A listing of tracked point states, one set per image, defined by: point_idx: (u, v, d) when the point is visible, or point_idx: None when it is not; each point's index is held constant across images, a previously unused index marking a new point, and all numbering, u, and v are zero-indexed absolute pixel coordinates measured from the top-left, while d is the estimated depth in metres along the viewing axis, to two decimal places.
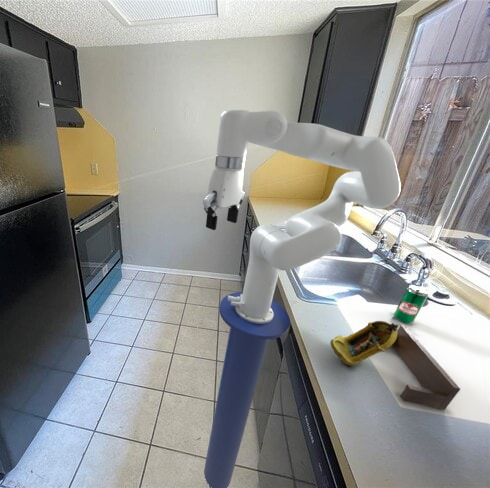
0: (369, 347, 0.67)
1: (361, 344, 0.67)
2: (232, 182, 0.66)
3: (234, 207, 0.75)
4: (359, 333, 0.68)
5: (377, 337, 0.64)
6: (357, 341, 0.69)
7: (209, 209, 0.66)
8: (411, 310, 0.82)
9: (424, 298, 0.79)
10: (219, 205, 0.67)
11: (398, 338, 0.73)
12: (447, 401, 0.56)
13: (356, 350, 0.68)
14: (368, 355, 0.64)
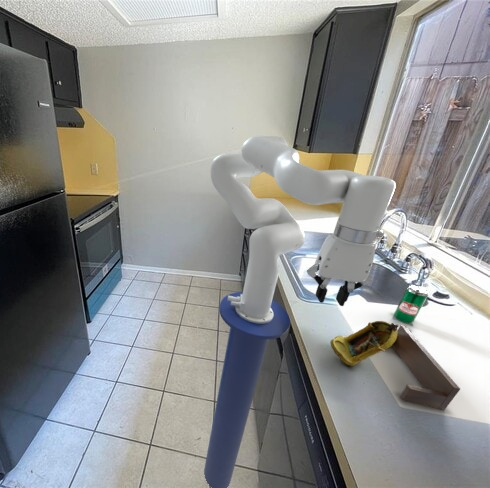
0: (369, 347, 0.67)
1: (361, 344, 0.67)
2: (345, 254, 0.57)
3: (345, 288, 0.62)
4: (359, 333, 0.68)
5: (377, 337, 0.64)
6: (357, 341, 0.69)
7: (316, 278, 0.62)
8: (410, 310, 0.82)
9: (424, 298, 0.79)
10: (320, 273, 0.60)
11: (398, 338, 0.73)
12: (447, 401, 0.56)
13: (356, 350, 0.68)
14: (368, 355, 0.64)
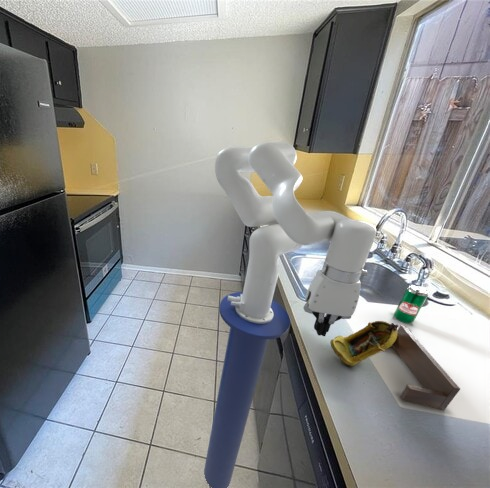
0: (369, 347, 0.67)
1: (361, 344, 0.67)
2: (332, 291, 0.61)
3: (326, 319, 0.66)
4: (359, 333, 0.68)
5: (377, 337, 0.64)
6: (357, 341, 0.69)
7: (314, 313, 0.66)
8: (410, 310, 0.82)
9: (424, 298, 0.79)
10: (310, 307, 0.64)
11: (398, 338, 0.73)
12: (447, 401, 0.56)
13: (356, 350, 0.68)
14: (368, 355, 0.64)
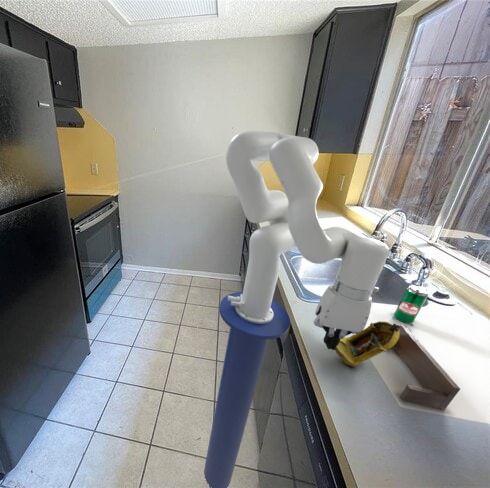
0: (371, 348, 0.67)
1: (363, 344, 0.67)
2: (343, 308, 0.61)
3: (336, 333, 0.67)
4: (361, 333, 0.68)
5: (379, 338, 0.64)
6: (359, 342, 0.69)
7: (324, 327, 0.67)
8: (410, 310, 0.82)
9: (424, 298, 0.79)
10: (320, 322, 0.65)
11: None
12: (447, 401, 0.56)
13: (358, 350, 0.68)
14: (370, 355, 0.64)
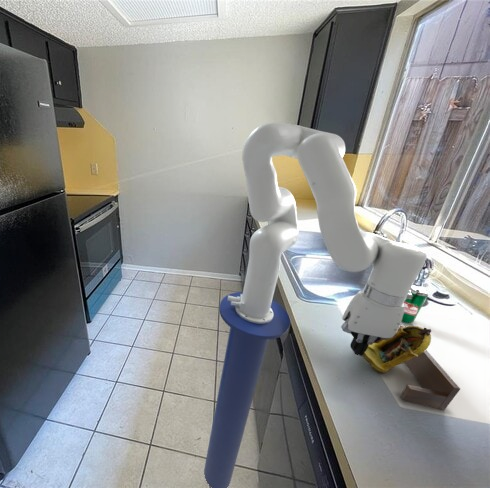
0: (401, 353, 0.65)
1: (392, 350, 0.65)
2: (375, 314, 0.60)
3: (364, 339, 0.66)
4: (390, 339, 0.67)
5: (409, 342, 0.62)
6: (388, 347, 0.68)
7: (352, 333, 0.65)
8: (410, 310, 0.82)
9: (424, 298, 0.79)
10: (349, 328, 0.64)
11: None
12: (447, 401, 0.56)
13: (387, 356, 0.66)
14: (400, 361, 0.62)
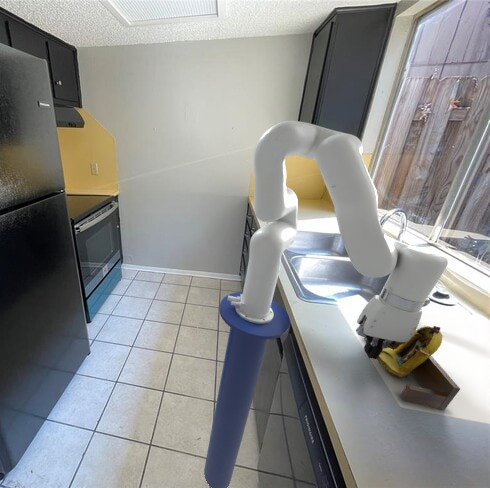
0: None
1: (408, 353, 0.64)
2: (392, 318, 0.60)
3: (379, 343, 0.66)
4: (406, 343, 0.66)
5: (423, 343, 0.62)
6: (407, 352, 0.66)
7: (367, 337, 0.65)
8: None
9: None
10: (365, 332, 0.64)
11: None
12: (447, 401, 0.56)
13: (404, 360, 0.65)
14: (414, 362, 0.61)
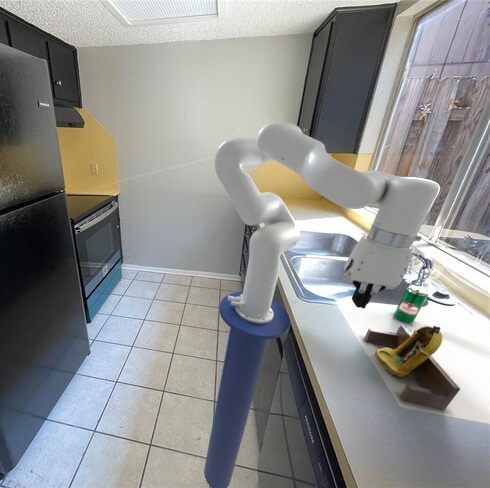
0: None
1: (408, 353, 0.64)
2: (380, 258, 0.55)
3: (367, 290, 0.61)
4: (406, 343, 0.66)
5: (423, 343, 0.62)
6: (407, 352, 0.66)
7: (354, 283, 0.61)
8: (410, 310, 0.82)
9: (424, 298, 0.79)
10: (352, 276, 0.59)
11: (398, 338, 0.73)
12: (447, 401, 0.56)
13: (404, 360, 0.65)
14: (414, 362, 0.61)
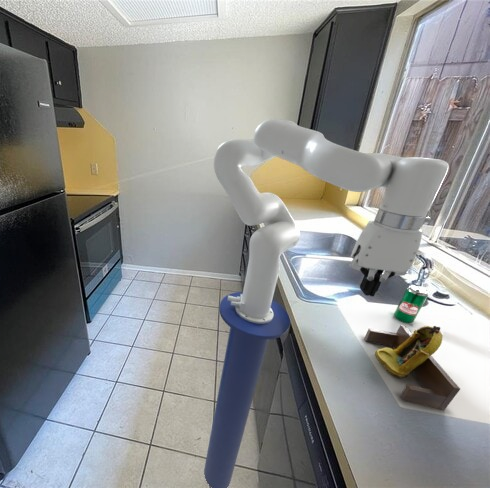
0: None
1: (408, 353, 0.64)
2: (389, 242, 0.54)
3: (376, 277, 0.59)
4: (406, 343, 0.66)
5: (423, 343, 0.62)
6: (407, 352, 0.66)
7: (362, 270, 0.59)
8: (410, 310, 0.82)
9: (424, 298, 0.79)
10: (359, 263, 0.57)
11: (398, 338, 0.73)
12: (447, 401, 0.56)
13: (404, 360, 0.65)
14: (414, 362, 0.61)
